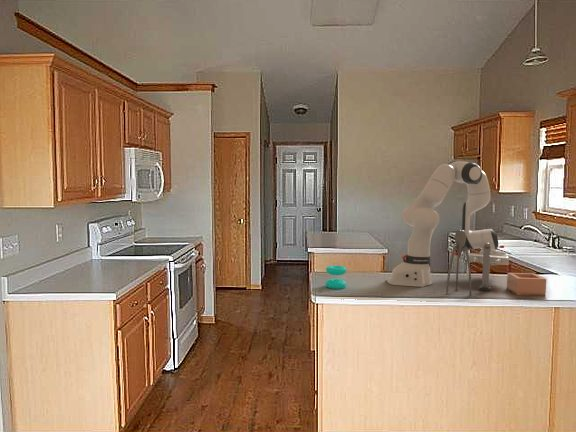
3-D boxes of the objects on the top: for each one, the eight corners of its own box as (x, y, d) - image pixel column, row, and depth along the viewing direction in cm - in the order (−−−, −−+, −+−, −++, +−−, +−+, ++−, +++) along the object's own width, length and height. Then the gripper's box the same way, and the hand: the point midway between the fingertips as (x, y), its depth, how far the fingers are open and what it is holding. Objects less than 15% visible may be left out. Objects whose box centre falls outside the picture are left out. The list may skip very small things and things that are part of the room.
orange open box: (516, 295, 243) (517, 278, 243) (506, 288, 256) (507, 272, 256) (545, 296, 243) (546, 279, 242) (533, 289, 256) (534, 273, 255)
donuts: (342, 264, 260) (349, 268, 251) (341, 284, 261) (349, 289, 252) (323, 265, 257) (330, 269, 248) (322, 285, 258) (329, 290, 249)
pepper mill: (479, 290, 252) (481, 243, 250) (479, 288, 257) (482, 242, 254) (490, 291, 250) (492, 244, 248) (490, 289, 255) (493, 242, 253)
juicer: (471, 295, 241) (474, 231, 238) (446, 294, 244) (448, 230, 241) (468, 291, 251) (471, 228, 248) (444, 289, 253) (446, 227, 250)
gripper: (466, 249, 275) (464, 253, 262) (509, 252, 267) (509, 256, 255) (466, 261, 276) (464, 265, 263) (508, 264, 268) (508, 269, 255)
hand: (486, 261), depth 259 cm, fingers open, 8 cm apart
